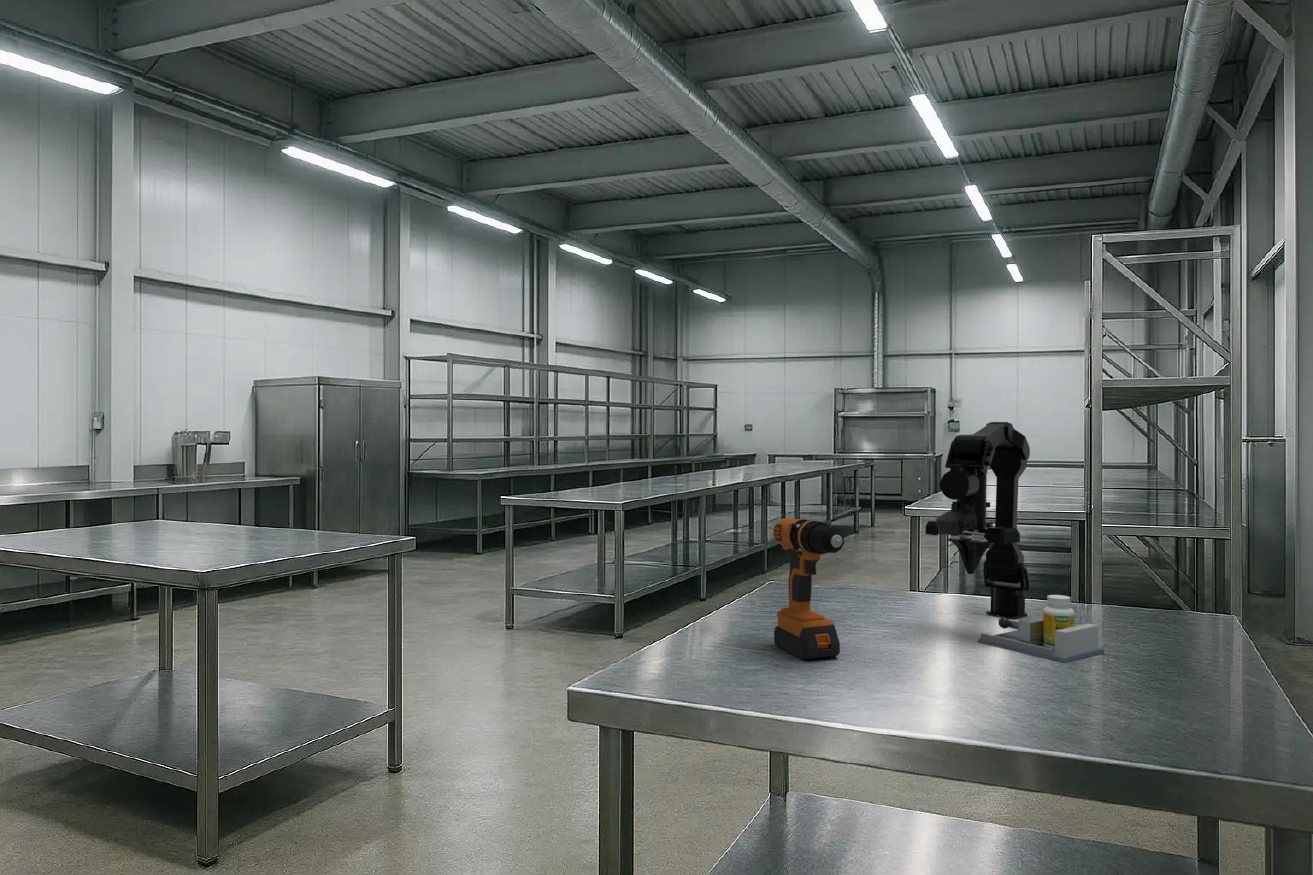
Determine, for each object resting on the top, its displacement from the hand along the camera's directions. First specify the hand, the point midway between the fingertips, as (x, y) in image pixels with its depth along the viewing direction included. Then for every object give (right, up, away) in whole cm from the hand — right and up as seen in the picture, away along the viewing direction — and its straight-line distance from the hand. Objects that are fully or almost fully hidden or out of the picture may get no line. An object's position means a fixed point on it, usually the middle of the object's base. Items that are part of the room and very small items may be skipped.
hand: (970, 573), depth 179 cm
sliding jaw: (+8, -11, -6) cm, 15 cm away
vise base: (+10, -13, -9) cm, 19 cm away
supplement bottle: (+12, -12, -13) cm, 21 cm away
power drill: (-35, -13, -16) cm, 41 cm away
